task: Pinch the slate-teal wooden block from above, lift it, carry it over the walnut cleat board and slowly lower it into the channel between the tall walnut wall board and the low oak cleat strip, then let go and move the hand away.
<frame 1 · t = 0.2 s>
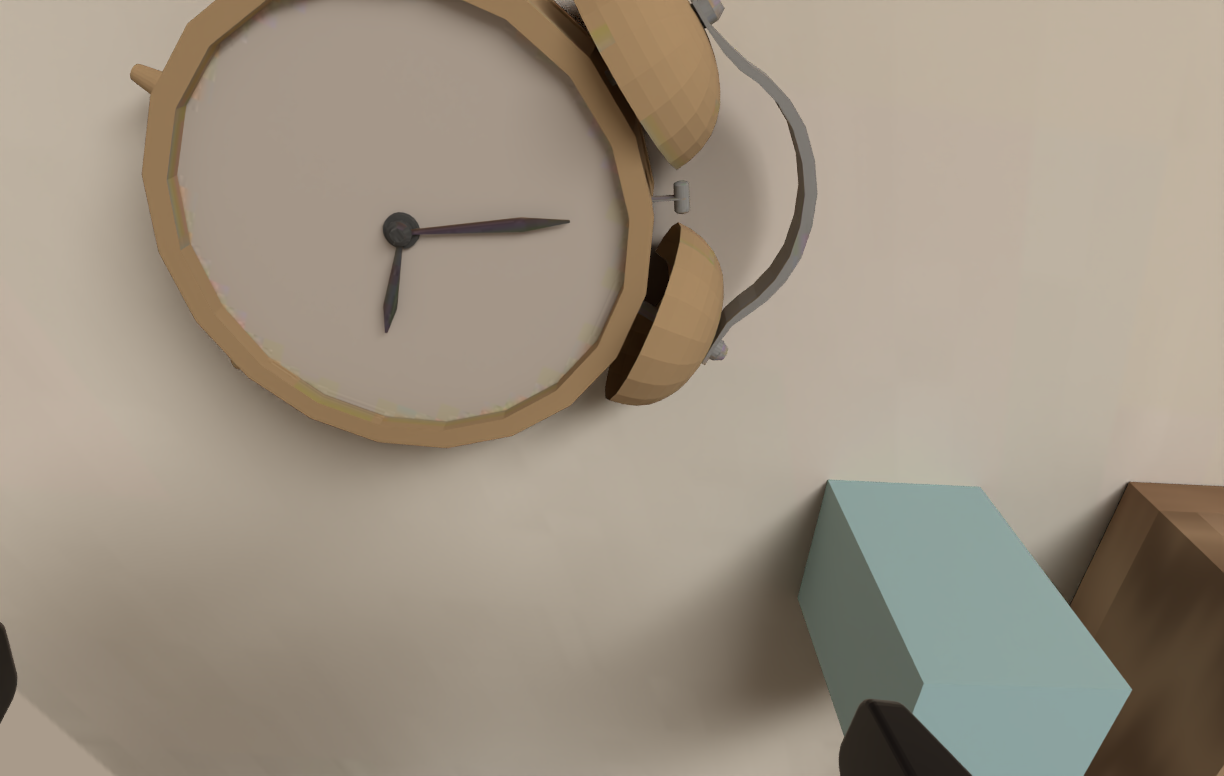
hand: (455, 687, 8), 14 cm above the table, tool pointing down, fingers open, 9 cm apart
cleat board: (1190, 663, 30), on the table
alarm clock: (499, 185, 21), on the table
teal block: (885, 544, 26), on the table
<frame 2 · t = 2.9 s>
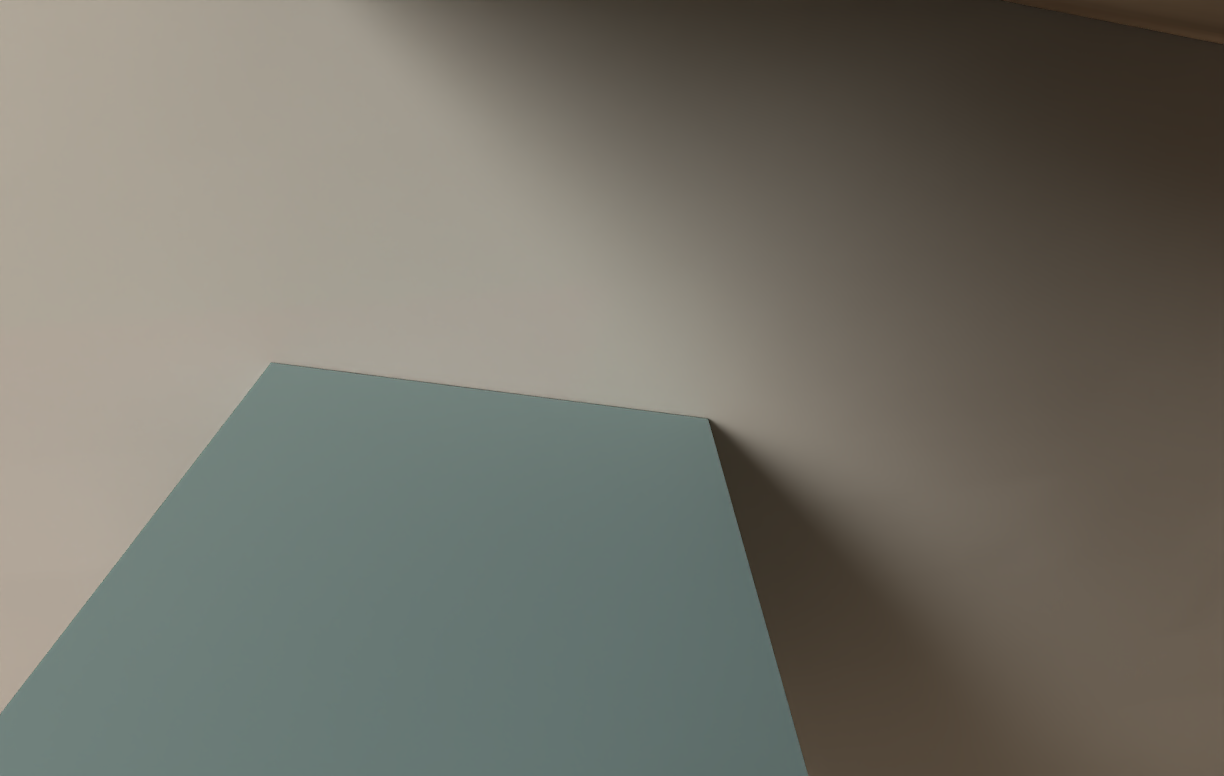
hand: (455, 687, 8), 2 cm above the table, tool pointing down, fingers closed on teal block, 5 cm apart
teal block: (477, 559, 10), on the table, touching gripper
when the fingers open (5 cm above the table, at t = 7.8 s): teal block drops 1 cm, resting on cleat board.
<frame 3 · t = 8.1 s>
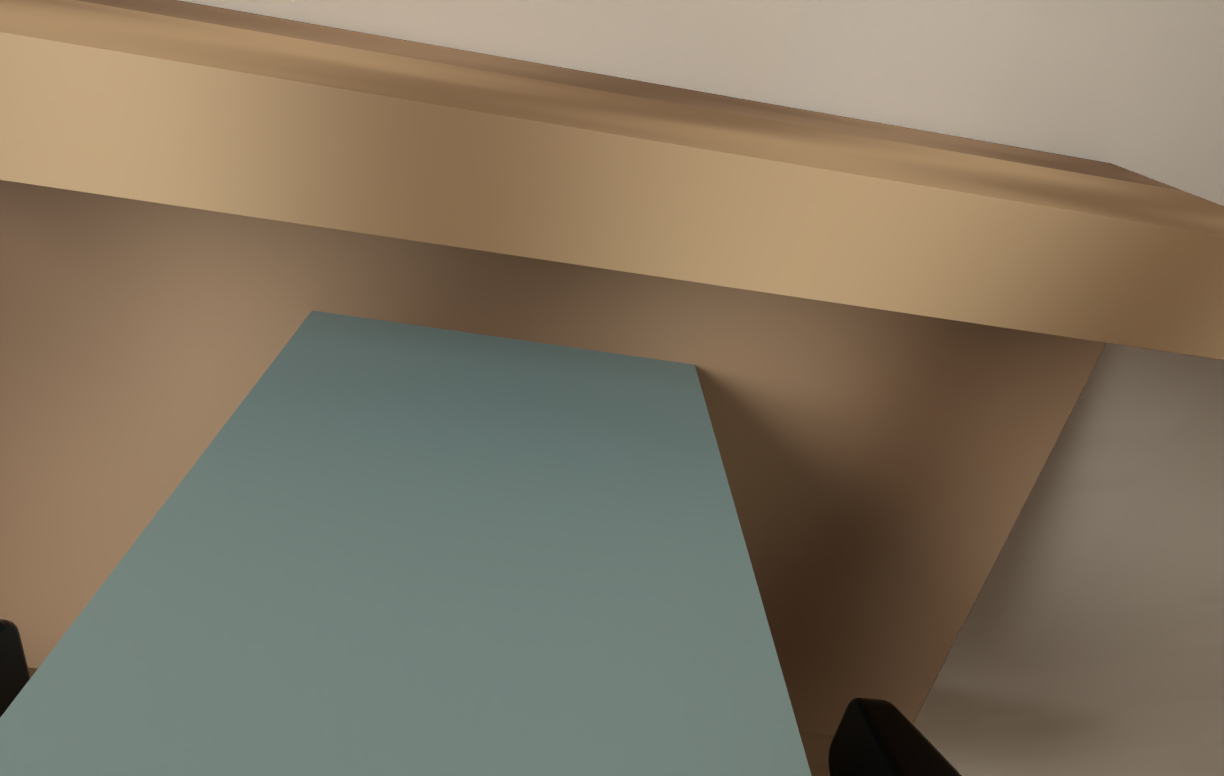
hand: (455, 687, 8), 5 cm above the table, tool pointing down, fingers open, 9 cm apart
cleat board: (497, 437, 13), on the table
teal block: (489, 492, 11), point 1 cm above the table, touching cleat board
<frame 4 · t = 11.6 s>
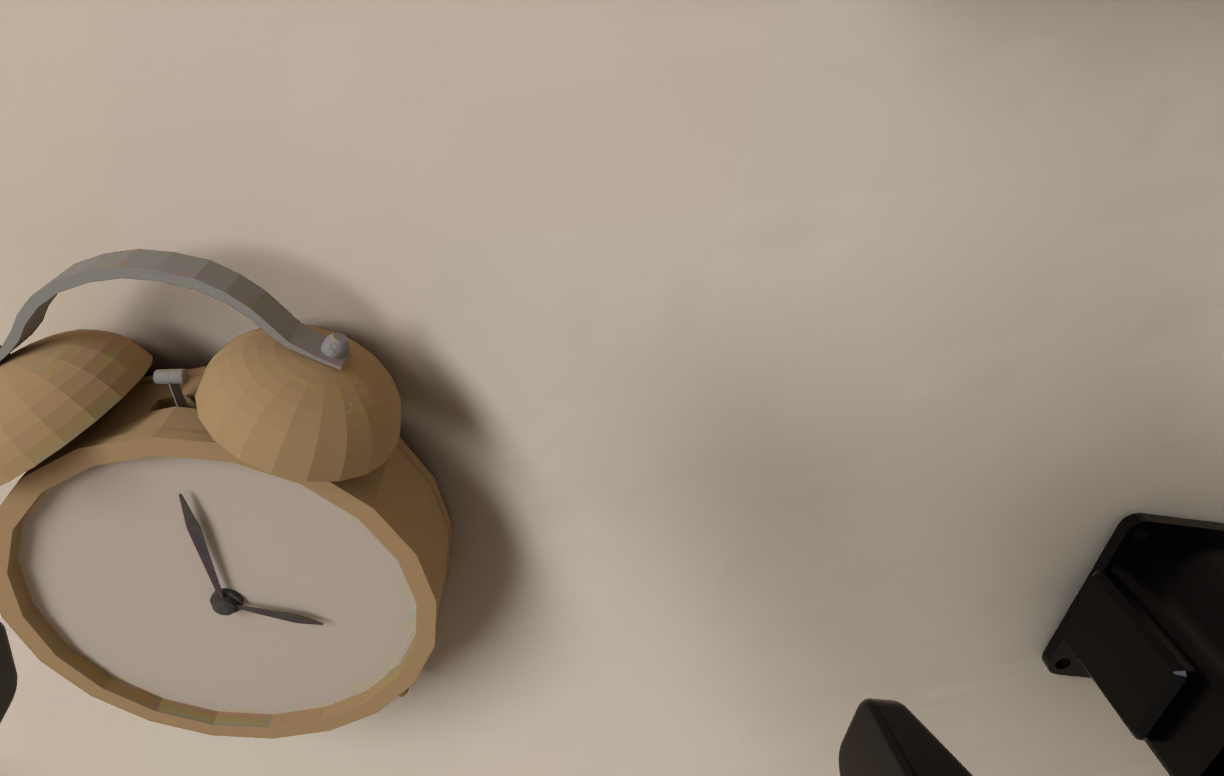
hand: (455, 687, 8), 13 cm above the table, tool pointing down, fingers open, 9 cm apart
alarm clock: (255, 470, 23), on the table
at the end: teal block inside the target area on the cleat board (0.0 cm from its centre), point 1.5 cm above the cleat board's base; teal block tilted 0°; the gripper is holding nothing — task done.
